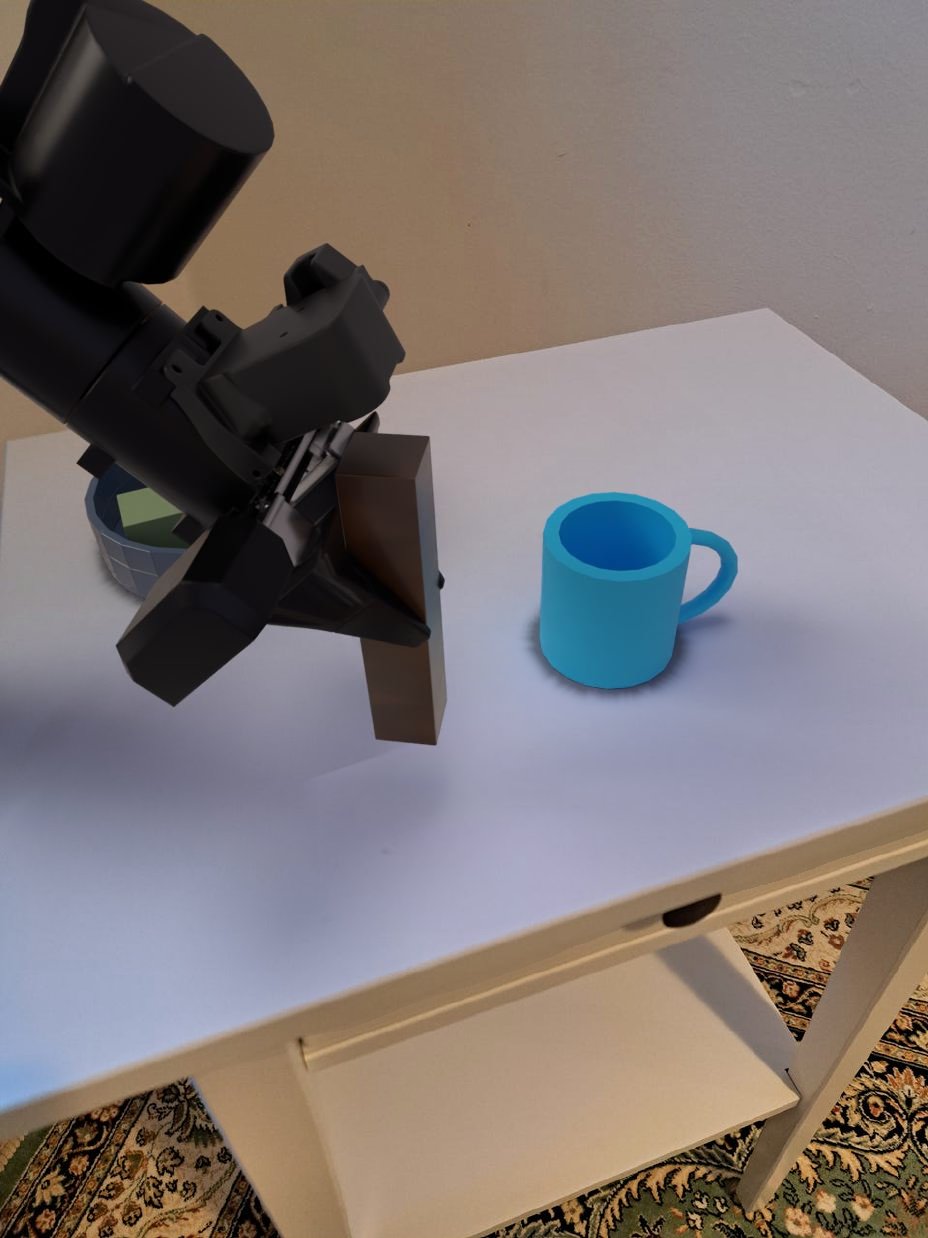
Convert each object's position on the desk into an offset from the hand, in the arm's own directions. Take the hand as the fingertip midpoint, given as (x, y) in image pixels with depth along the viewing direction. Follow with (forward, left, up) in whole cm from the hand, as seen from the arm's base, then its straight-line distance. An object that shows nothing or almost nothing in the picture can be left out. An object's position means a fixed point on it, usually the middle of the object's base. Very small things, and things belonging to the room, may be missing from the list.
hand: (431, 614), depth 38 cm
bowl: (-6, +28, -12) cm, 31 cm away
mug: (+15, +6, -13) cm, 21 cm away
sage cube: (-10, +27, -12) cm, 31 cm away
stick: (-1, +1, -7) cm, 7 cm away
